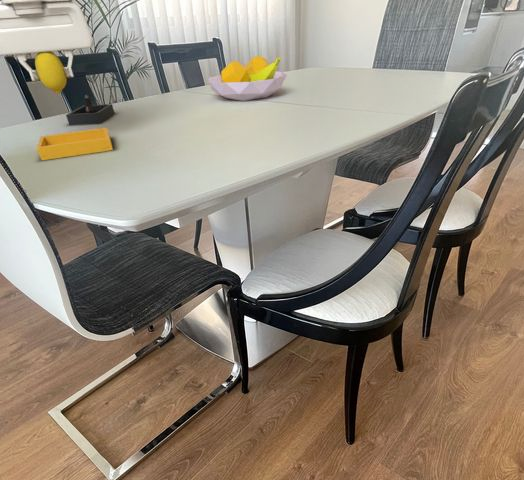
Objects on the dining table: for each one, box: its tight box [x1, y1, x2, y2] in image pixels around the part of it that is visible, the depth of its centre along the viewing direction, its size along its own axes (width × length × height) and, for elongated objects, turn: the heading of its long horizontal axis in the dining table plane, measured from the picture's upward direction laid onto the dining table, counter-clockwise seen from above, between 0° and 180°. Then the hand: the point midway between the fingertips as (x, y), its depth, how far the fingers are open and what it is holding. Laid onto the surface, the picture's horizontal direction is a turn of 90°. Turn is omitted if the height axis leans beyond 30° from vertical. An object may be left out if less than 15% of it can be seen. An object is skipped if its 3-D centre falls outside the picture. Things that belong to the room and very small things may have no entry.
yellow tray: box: [36, 127, 114, 161], centre depth 91 cm, size 16×12×3 cm
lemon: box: [34, 51, 68, 95], centre depth 82 cm, size 6×6×8 cm
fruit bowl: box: [208, 55, 288, 102], centre depth 128 cm, size 28×27×11 cm
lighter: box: [84, 94, 94, 113], centre depth 116 cm, size 8×2×5 cm
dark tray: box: [65, 103, 116, 126], centre depth 117 cm, size 14×10×3 cm
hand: (53, 79), depth 82 cm, fingers closed on lemon, 5 cm apart
